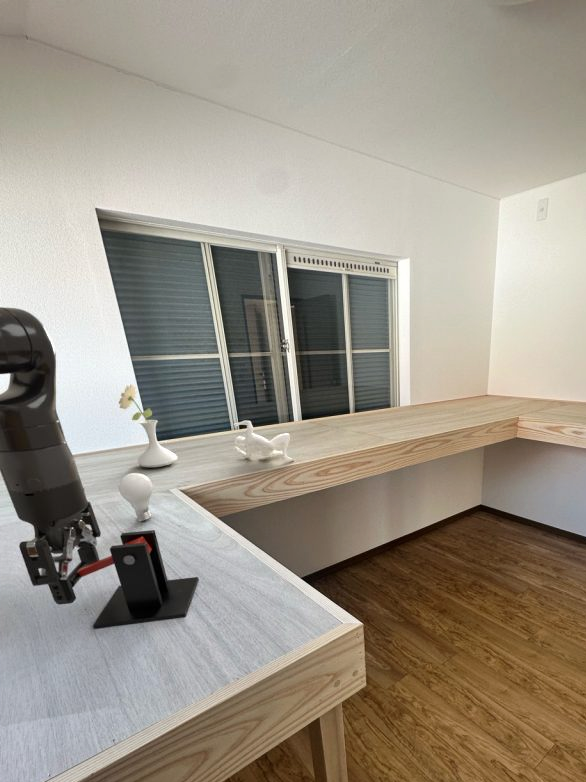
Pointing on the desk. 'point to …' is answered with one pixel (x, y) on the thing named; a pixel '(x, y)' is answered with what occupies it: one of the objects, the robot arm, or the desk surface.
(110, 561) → the switch lever
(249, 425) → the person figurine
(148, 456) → the flower in vase
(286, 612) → the desk surface
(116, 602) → the switch base
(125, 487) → the lightbulb
